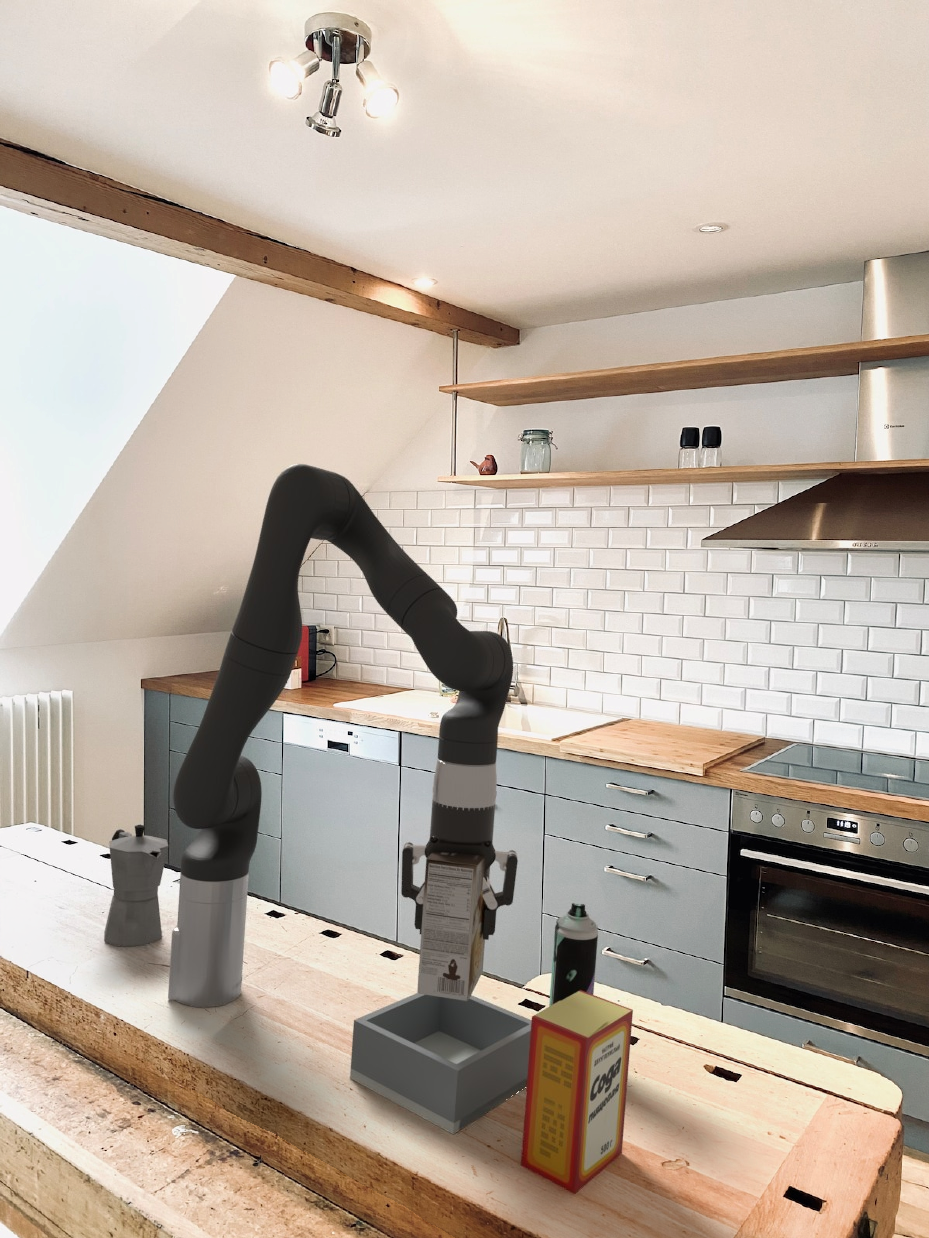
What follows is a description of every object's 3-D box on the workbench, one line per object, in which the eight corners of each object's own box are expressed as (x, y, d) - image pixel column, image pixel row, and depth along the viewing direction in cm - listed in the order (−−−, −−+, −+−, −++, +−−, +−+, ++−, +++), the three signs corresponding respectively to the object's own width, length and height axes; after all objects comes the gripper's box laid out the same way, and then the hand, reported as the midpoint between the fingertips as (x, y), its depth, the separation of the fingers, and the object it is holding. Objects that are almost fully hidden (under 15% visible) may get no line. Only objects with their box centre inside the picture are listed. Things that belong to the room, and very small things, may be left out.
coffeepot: (180, 943, 149) (187, 830, 149) (122, 956, 143) (129, 838, 142) (137, 914, 160) (143, 809, 160) (81, 925, 154) (87, 815, 153)
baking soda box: (569, 1128, 105) (580, 986, 105) (621, 1153, 101) (633, 1006, 100) (520, 1165, 98) (532, 1012, 97) (574, 1193, 94) (586, 1035, 93)
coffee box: (433, 964, 118) (442, 837, 118) (483, 972, 117) (493, 844, 117) (415, 994, 109) (425, 857, 109) (469, 1002, 108) (479, 864, 108)
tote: (349, 1077, 112) (353, 1019, 112) (437, 1034, 125) (441, 982, 125) (453, 1133, 102) (457, 1070, 102) (537, 1080, 115) (541, 1024, 114)
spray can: (560, 1072, 117) (572, 913, 117) (537, 1051, 122) (548, 898, 121) (596, 1064, 120) (608, 909, 119) (572, 1044, 125) (583, 895, 124)
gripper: (401, 800, 109) (391, 942, 109) (525, 809, 109) (515, 951, 109) (406, 786, 116) (397, 919, 117) (522, 795, 116) (513, 928, 117)
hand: (454, 934), depth 113 cm, fingers closed on coffee box, 7 cm apart
